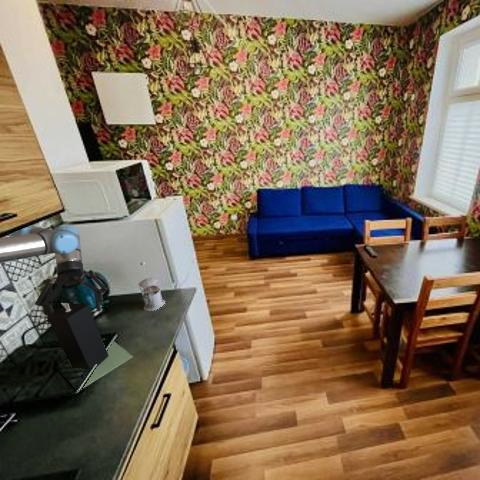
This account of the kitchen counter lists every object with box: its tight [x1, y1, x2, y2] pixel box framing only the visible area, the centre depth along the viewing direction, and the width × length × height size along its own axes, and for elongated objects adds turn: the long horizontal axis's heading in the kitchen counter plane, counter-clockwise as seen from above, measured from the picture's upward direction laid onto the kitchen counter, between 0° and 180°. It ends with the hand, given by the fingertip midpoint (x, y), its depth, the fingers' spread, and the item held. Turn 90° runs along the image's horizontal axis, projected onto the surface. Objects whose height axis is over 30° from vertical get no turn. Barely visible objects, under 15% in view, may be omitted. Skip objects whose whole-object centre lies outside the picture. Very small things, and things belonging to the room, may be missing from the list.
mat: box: [83, 341, 134, 389], centre depth 103 cm, size 20×18×1 cm
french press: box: [138, 261, 166, 312], centre depth 132 cm, size 10×12×25 cm
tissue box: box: [46, 302, 109, 369], centre depth 97 cm, size 8×8×28 cm
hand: (75, 316), depth 98 cm, fingers open, 13 cm apart
